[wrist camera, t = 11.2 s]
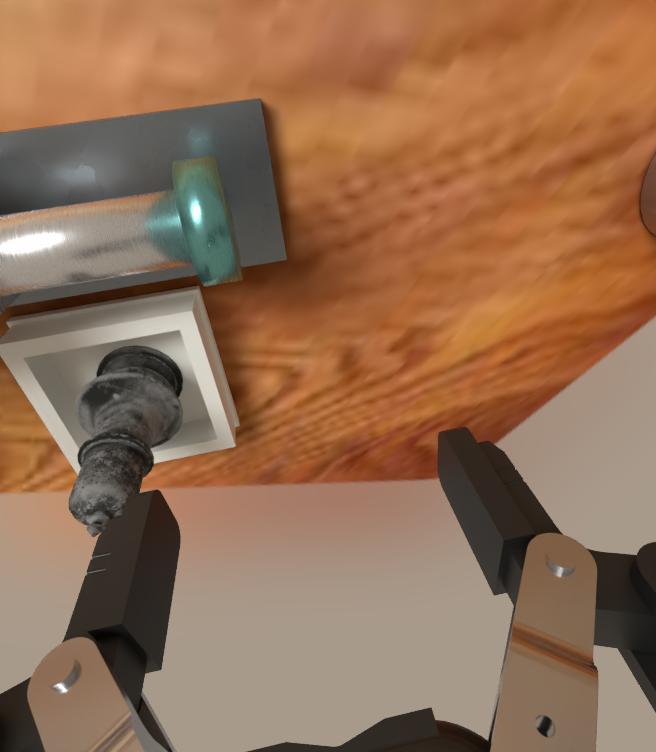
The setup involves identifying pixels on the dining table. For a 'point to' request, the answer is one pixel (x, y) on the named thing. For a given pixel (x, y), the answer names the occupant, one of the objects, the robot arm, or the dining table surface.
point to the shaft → (125, 235)
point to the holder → (113, 331)
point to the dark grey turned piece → (123, 429)
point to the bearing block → (144, 176)
